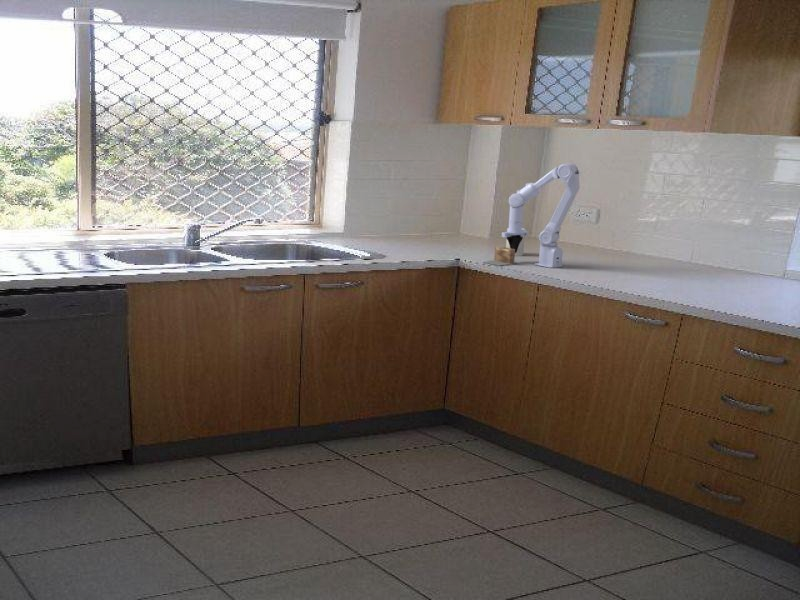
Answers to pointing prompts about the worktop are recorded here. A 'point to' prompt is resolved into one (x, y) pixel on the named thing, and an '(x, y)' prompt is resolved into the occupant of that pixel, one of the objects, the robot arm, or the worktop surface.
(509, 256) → the slab
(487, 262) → the mat
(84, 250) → the worktop surface
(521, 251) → the cup
